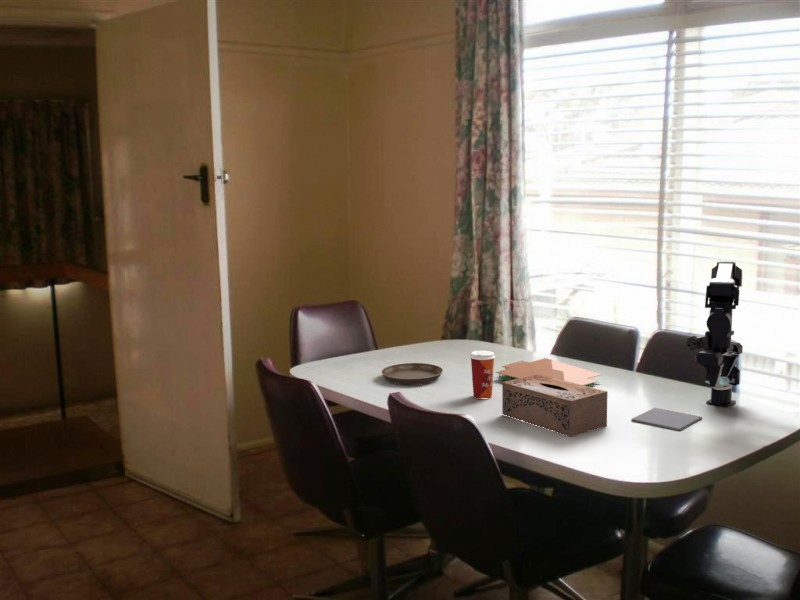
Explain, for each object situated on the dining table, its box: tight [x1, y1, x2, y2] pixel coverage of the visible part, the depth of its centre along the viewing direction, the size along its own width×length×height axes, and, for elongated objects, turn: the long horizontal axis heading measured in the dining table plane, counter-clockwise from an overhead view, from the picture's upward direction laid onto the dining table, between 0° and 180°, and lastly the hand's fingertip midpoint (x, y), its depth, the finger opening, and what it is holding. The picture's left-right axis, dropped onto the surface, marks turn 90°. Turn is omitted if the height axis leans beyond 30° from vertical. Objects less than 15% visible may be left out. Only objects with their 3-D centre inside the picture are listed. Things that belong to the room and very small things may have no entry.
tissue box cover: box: [501, 374, 608, 438], centre depth 237 cm, size 26×14×10 cm, turn 37°
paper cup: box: [469, 350, 496, 399], centre depth 261 cm, size 8×8×14 cm
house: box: [495, 357, 603, 388], centre depth 278 cm, size 23×33×8 cm
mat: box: [631, 407, 703, 431], centre depth 236 cm, size 14×14×1 cm
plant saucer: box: [381, 362, 444, 386], centre depth 286 cm, size 21×21×3 cm
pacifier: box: [704, 373, 734, 390], centre depth 230 cm, size 7×6×6 cm
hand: (718, 383), depth 231 cm, fingers closed on pacifier, 7 cm apart
